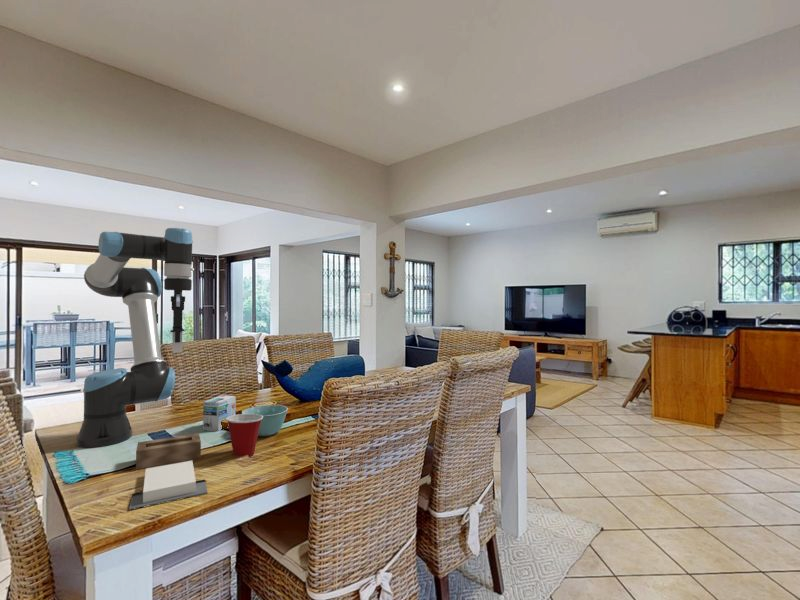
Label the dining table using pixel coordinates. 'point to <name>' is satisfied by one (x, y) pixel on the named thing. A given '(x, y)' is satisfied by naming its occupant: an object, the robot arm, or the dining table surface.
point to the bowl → (269, 418)
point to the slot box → (168, 451)
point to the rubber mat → (138, 498)
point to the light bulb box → (217, 411)
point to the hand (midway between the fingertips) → (177, 352)
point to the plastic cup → (244, 433)
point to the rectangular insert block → (169, 481)
